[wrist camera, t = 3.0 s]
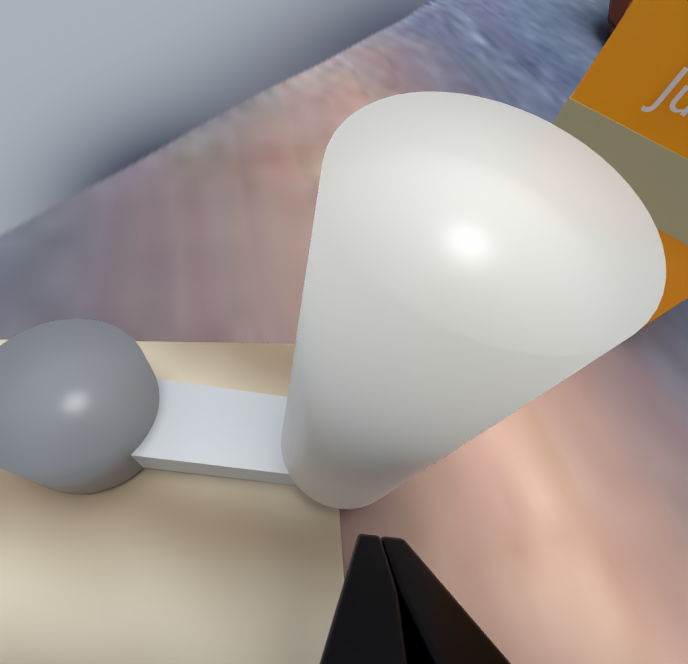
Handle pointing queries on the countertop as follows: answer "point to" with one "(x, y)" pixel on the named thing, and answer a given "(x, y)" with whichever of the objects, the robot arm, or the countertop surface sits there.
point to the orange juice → (643, 122)
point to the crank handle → (372, 317)
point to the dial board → (172, 552)
